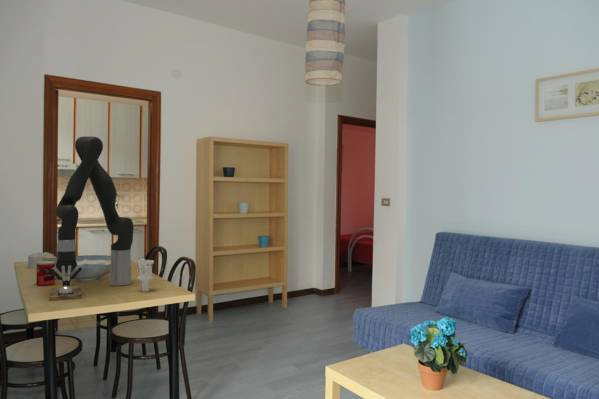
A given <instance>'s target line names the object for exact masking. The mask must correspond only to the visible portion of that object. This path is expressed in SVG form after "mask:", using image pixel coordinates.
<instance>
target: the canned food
mask: <svg viewBox="0 0 599 399" xmlns="http://www.w3.org/2000/svg"><path fill="white" fill-rule="evenodd" d="M53 267H55V262H54V261H41V262H37V269H36V286H38V287H47V286H48V287H50V286H54V285H55V283H56V281H55V280H56V279H55V275H54V274H53V273H52V272H51V271H50V270H51V268H53Z"/></svg>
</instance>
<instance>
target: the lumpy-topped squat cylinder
mask: <svg viewBox="0 0 599 399" xmlns="http://www.w3.org/2000/svg"><path fill="white" fill-rule="evenodd" d="M45 256H55V255H54V254H53V253H50V252H47V251H45V252H43V253H42V252H33V253H31V254H29V255H28V256H27V257H28V258H27V262H28V263H27V268H28V267H29V268H28V269H30V268H32V269H31V270H37V269H36V268H37V262H41V261H42V259H43V257H45Z"/></svg>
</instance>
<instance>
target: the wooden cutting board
mask: <svg viewBox="0 0 599 399" xmlns="http://www.w3.org/2000/svg"><path fill="white" fill-rule="evenodd" d="M61 287H62V286H61ZM61 287H51V288H50V292H49V298H48V300H49V301H50V302H53V301H63V300H64V301H65V300H77V299H82V288H81V286H79V285H78V286H70V287H71V288H72V293H71V295H60V294H59V290H60V288H61Z"/></svg>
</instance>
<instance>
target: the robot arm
mask: <svg viewBox="0 0 599 399" xmlns="http://www.w3.org/2000/svg"><path fill="white" fill-rule="evenodd" d="M74 149H75V152H76V154H77V155H78V157H79V159H80V161H81V162H80V164H79V165H78V167H77V168H76V170H74V172H73V174H72V175H71V176H70V177H69V178H70V179H69V180H68V182H67V185H66V188H65V192H64V194H63V196H62V197H61V198H60V200H59V202H58V204H57V206H56V209H55V215H56V217H57V218H58V219H59V220H60V221H61V225H60V227H58V230H57V244H56V257H57V263H56V266H55V267H53V268H51V270H50V271H51V272H52V273H53V274H54V275H55V276H56V279H57V280H58V281H62V287H63V286H70V287H71V281H72V280H74V279H75V278H76V277H77V276H78V275H79V274H80V273H81V271H82V270H83V267H82V266H80V265H78V263H77V242H76V238H77V237H76V236H77V234H76V229H77V226H78V221H79V210H78V208H77V207H76V204H77V202H79V201H80V200H81V199H82V197H83V194H84V191H85V189H86V185H87V183H88V180H90V183H91V185H92V189H93V191H94V193H95V197H96V198H97V200H98V204H99V206H100V207H101V210H102V214H103V218H104V220H105V224H106V227H107V230H108V232H109V233H110V234H111V235H113V236H117V240H116V241H115V242H112V243H111V245H110V281H109V282H110V286H114V287H115V286H117V287H119V286H121V287H123V286H128V285H132V265H131V263H132V262H131V261H132V260H131V259H132V258H131V257H132V256H131V254H132V244H133V243H134V240H133V239H134V222H133V220H132V218H130V217H127V216H126V217H125V216H124V217H123V216H120V215H119V214H118V212H117V208H116V200H117V196H118V194H117V188H116V185H115V183H114V180H113V179H112V177H111V176H110V174H109V173H108V172H107V171H106V170H105V168H104V167H103V166H102V165H101V164H100V162H99V158H100V156H101V154H102V152H103V149H104V144H103V142H102V139H100V137H98V136H93V135H92V136H88V135H87V136H80V137H78V138H77V139H76V140H75V144H74ZM56 268H57V269H56ZM74 270H75V271H74ZM56 271H57V272H56ZM58 271H59V272H60V273H61V274H62V275H60V274H59V272H58ZM73 271H74V272H73ZM66 273H67V274H66ZM71 273H73V274H72V275H71Z"/></svg>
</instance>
